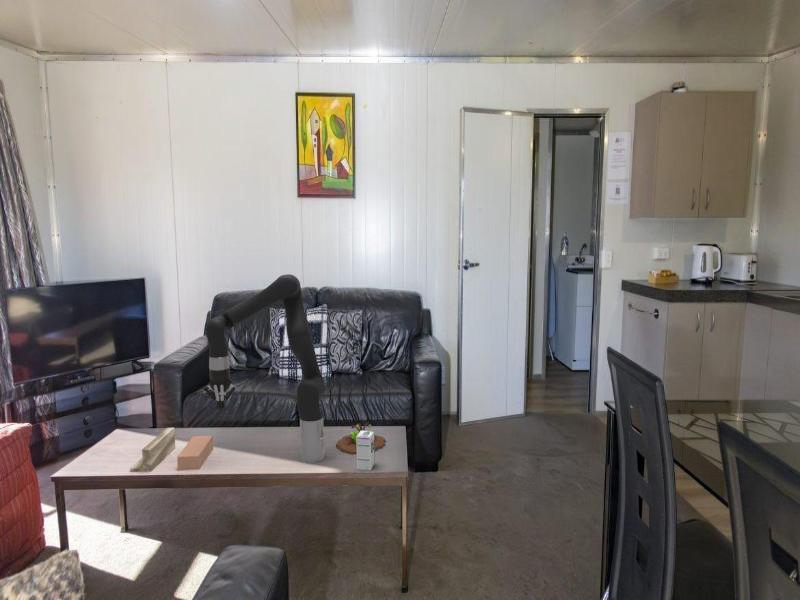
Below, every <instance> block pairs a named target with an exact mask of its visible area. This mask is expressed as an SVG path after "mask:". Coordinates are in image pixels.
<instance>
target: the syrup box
mask: <svg viewBox="0 0 800 600" xmlns="http://www.w3.org/2000/svg"><path fill="white" fill-rule="evenodd" d="M358 432H359V431H358ZM374 435H375V431H373V430H365V431H360V432H359V433H358V435H357V436H356V446H357V454H356V469H357V470H363V471H372V469H373V468H374V466H375V465H376V463H375V461H376V458H375V457H376V456H375V454H376V453H375V452H376V451H375V449H374Z"/></svg>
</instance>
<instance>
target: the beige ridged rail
mask: <svg viewBox="0 0 800 600" xmlns="http://www.w3.org/2000/svg"><path fill="white" fill-rule="evenodd" d="M175 435H176V434H175V427H166V428H165V429H164V430H163V431H161V432H160V433H159V434H158V435H157V436H156V437H155V438H153V439H152V440H151V441H150V442H149V443H148V444H147V445H146V446H144V447H143V448H142V449H141V451H142V452H141V453H142V456H141V458H140V459H139V460H138V461H137V462H135V464H133V465H132V466H131V467H129V471H130V472H131V473H137V472H139V473H142V472H143V473H145V472H146V473H147V472H148V471H149V472H151V473H152V472H153V471H154V470H155V469H156V468H157V467H158V466H159V465H160V464H161V463H162V462H163V461H164V460H165V459H166V458H167V457H168V456H170V454H171V453H172V452H173V451H174V450H175V449H176V438H175V437H176V436H175Z"/></svg>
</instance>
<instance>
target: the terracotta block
mask: <svg viewBox="0 0 800 600" xmlns="http://www.w3.org/2000/svg"><path fill="white" fill-rule="evenodd" d="M213 450H214V437H213V435H197V436H194V435H193V436H192V437H191V439H189V441H188V442H187V444H186V445H185V446H184V448H183V449H182V450H181V451H180V453H179V454H177V456H176V457H177V459H176V460H177V471H188V470H189V471H190V470H200V469H201V468H202V466H203V465H204V464H205V462H206V460H207V459H208V457H210V455H211V452H213Z"/></svg>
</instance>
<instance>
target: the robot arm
mask: <svg viewBox="0 0 800 600" xmlns="http://www.w3.org/2000/svg"><path fill="white" fill-rule="evenodd" d="M280 301H282V302H283V306H284V310H285V327H286V328H285V329H286V335H287V340H288V344H289V347H290V351H291V352H292V354H293V355H294V357H295V359H296V360H297V362H298V363H299V365H300V367H301V371H302V375H303V381H301V382H300V383H299V384H298V386H297V388H296V404H297V405H296V406H297V412H298V414H299V429H300V430H299V432H300V433H299V434H300V436H299V439H300V460H301V462H304V463H307V462H308V463H307V464H312V463H313V462H314V463H319V462H324V459H325V454H326V452H325V450H326V447H325V433H324V411H323V409H322V408H321V407H320V398H321V397H322V396H323V395H324V394H325V390H326V384H325V381H324V378H323V375H322V372H321V369H320V366H319V363H318V360H317V359H318V358H317V354H316V349H315V345H314V340H313V337H312V332H311V329H310V325H309V321H308V317H307V314H306V311H305V308H304V303H303V296H302V287H301V281H300V280H299V279H298V277H297V276H295V275H294V274H288V273H287V274H282V275H280V276H278V278H277V279H275V280H274V281H273V282H272V283H270V284H269V285H267V287H266V288H264V289H262V290H261V291H259V292H258V293H256V294H255V295H252V296H250V297H249V298H247V299H244V300H243V301H241V302H239V303H237V304H236V305H234V306H232V307H231V308H229V309H228V310H227V311H225V312H222V313H220V314H218V315H216V316H215V317H213V318H211V319H210V320H208V321H207V322H206V325H205V334H206V339H207V342H208V345H209V346H208V351H209V361H208V363H209V364H208V368H209V383H208V385H206V386H204V388H203V390H204V391H205V393H206V394H207V395H208V396H209V397H210V398H211V400H212V401H213V400H215V401H216V407H217V409H218V410H219V411H223V410H224V409H225V408H226V400H228V399H230V398H231V396H232V394H233V393H234V392H235V391H236V389H238V386H237V385H234V384H232V380H231V368H230V367H231V366H230V358H229V346H228V344H229V343H228V342H227V341H226V338H225V337H226V336H225V332H227V331H229V330H230V329H232V328H234V327H236V326H237V325H239V324H242V323H244V322H246V321H247V320H248V319H250V318H253V317H254V316H256V315H257V314H259V313H260V312H262V310H265V308H267V307H269V306H271V305H272V304H273V305H274V304H275V303H277V302H280ZM228 390H229V391H228ZM227 392H228V393H227ZM318 461H319V462H318ZM314 463H313V464H314Z"/></svg>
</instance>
